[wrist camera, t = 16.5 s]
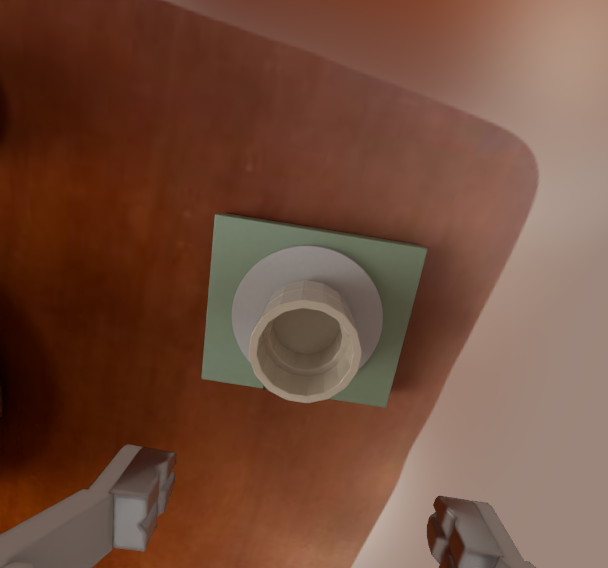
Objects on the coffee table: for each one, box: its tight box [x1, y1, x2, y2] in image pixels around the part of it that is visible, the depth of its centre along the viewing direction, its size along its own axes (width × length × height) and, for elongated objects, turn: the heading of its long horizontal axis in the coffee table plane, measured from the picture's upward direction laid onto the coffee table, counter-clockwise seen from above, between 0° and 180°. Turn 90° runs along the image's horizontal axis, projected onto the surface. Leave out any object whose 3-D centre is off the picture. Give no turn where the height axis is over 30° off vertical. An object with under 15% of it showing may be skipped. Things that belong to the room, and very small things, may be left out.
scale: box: [201, 213, 427, 408], centre depth 24 cm, size 15×13×3 cm
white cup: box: [249, 280, 362, 403], centre depth 20 cm, size 6×6×5 cm
